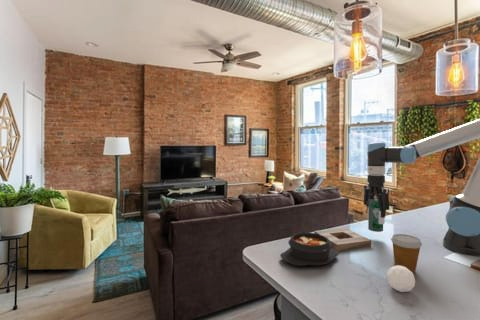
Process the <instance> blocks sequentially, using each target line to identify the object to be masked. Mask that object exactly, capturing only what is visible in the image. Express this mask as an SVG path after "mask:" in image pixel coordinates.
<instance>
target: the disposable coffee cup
mask: <svg viewBox="0 0 480 320" xmlns="http://www.w3.org/2000/svg"><path fill="white" fill-rule="evenodd" d="M390 240H391V242H392V250H393V259H394V260H393V261H394V266H396V265H398V266H404V267H406V268H407V269H408V270H410V271H411V272H412V273H413V274H415V273H416V271H417V270H416V269H417V265H418V262H419V255H420V250H421V247H422V245H423V244H422V242H421V239H420V238H419V237H416V236H413V235H410V234H404V233H394V234H393V235H392V237H391V238H390Z"/></svg>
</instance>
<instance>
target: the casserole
mask: <svg viewBox="0 0 480 320" xmlns="http://www.w3.org/2000/svg"><path fill="white" fill-rule="evenodd" d="M288 245H289V248H287V250H285V251H283V252H282V253H280V255H279V256H280V258H281V259H282V260H283V261H285V262H287V263H288V264H291V265H293V266H297V267H298V266H299V267H300V266H321V265H327V264H329V263H331V262H333V261H334V259H335V258H336V257H337V256H339V251H336V250H334V249H332V245H331V244H330V242H329V239H328V238H326V237H325V236H322V235H319V234H315V233H314V232H298V233H294V234H293V235H291V236H290V239H289V240H288Z"/></svg>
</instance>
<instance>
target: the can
mask: <svg viewBox="0 0 480 320" xmlns="http://www.w3.org/2000/svg"><path fill="white" fill-rule="evenodd" d="M379 210H380V207H379V201H378V199H377V197H374V198H372V199H371V198H369V205H368V220H367V221H368V223H367V226H368V227H367V228H368V230H369V231H371V232H376V233H377V232H378V233H381V232H383V231H384V224H379Z"/></svg>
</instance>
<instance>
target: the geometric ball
mask: <svg viewBox="0 0 480 320" xmlns="http://www.w3.org/2000/svg"><path fill="white" fill-rule="evenodd" d="M386 280H387V282H388V285H389V286H391V287H392V288H393V289H394V290H395V291H398V292H400V293H405V292H411V291H412V290H413V289H414V287H415V285H416V278H415V275H414V273H412V272H411V271H410V270H408V269H407V268H406V267H404V266H398V265H396V266H395V265H394V266H391V267H390V268H388V269H387V272H386Z"/></svg>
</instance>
